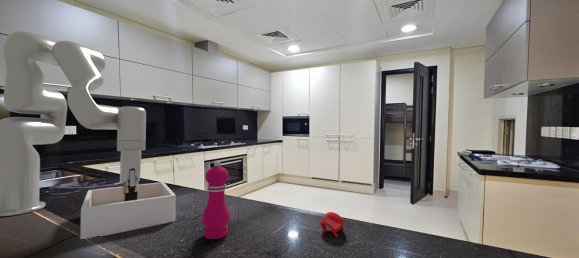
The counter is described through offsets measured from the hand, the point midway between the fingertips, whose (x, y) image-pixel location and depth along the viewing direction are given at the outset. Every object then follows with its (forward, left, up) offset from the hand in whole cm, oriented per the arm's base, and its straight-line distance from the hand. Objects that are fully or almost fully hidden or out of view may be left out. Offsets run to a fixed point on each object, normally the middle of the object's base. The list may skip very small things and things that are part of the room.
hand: (130, 202), depth 74 cm
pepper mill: (+27, +18, -5) cm, 33 cm away
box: (0, 0, -5) cm, 5 cm away
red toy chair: (+45, +45, -5) cm, 64 cm away
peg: (0, 0, -3) cm, 3 cm away
